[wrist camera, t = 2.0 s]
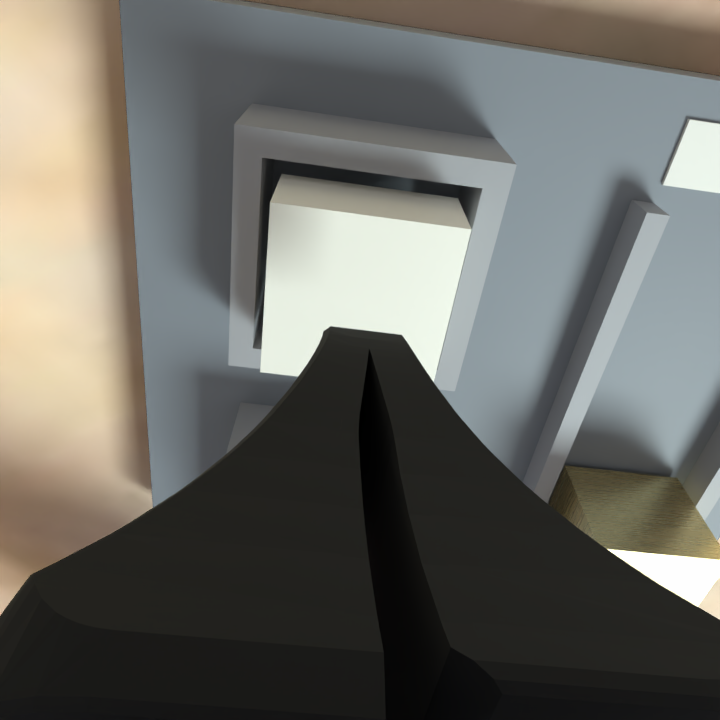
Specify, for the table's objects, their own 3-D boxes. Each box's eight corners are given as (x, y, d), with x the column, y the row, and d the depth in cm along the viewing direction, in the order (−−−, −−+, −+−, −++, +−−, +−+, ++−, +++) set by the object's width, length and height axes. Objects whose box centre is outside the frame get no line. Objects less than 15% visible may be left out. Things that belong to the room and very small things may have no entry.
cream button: (424, 347, 16) (431, 391, 14) (271, 328, 15) (260, 372, 14) (457, 198, 14) (471, 229, 12) (281, 173, 13) (270, 202, 12)
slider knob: (633, 554, 23) (673, 640, 20) (530, 544, 22) (556, 630, 20) (677, 477, 21) (729, 561, 18) (564, 465, 20) (599, 548, 17)
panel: (662, 550, 26) (713, 646, 22) (169, 502, 24) (135, 596, 21) (931, 109, 16) (1098, 148, 13) (146, -15, 15) (74, -13, 11)
